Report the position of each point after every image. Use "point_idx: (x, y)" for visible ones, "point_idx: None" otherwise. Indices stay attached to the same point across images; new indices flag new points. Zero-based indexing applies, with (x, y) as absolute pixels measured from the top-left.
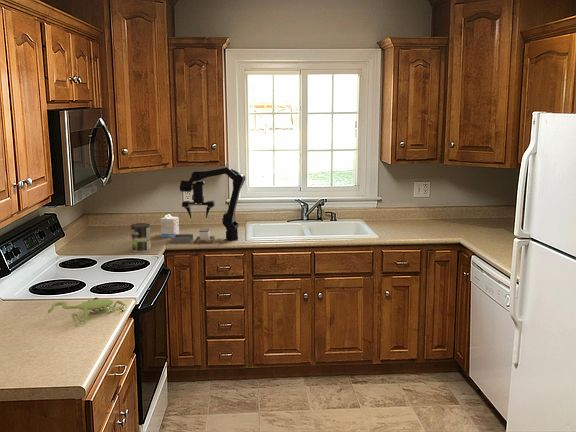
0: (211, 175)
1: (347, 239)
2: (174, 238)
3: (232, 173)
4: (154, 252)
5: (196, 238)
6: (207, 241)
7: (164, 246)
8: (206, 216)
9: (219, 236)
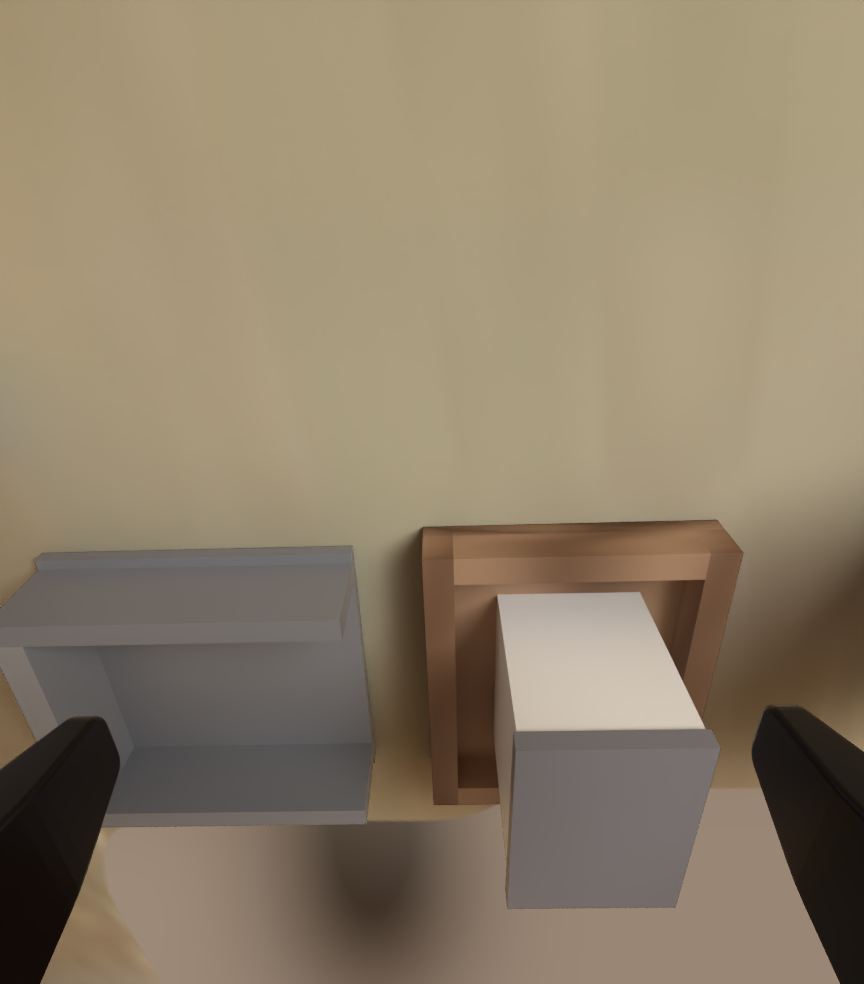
0: None
1: None
2: (129, 818)
3: None
4: (116, 981)
5: (434, 704)
6: None
7: None
8: (804, 850)
9: (844, 277)
